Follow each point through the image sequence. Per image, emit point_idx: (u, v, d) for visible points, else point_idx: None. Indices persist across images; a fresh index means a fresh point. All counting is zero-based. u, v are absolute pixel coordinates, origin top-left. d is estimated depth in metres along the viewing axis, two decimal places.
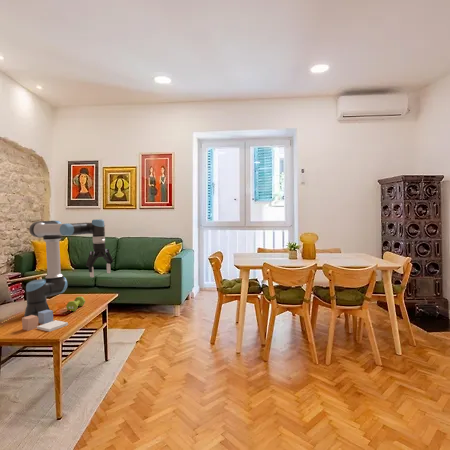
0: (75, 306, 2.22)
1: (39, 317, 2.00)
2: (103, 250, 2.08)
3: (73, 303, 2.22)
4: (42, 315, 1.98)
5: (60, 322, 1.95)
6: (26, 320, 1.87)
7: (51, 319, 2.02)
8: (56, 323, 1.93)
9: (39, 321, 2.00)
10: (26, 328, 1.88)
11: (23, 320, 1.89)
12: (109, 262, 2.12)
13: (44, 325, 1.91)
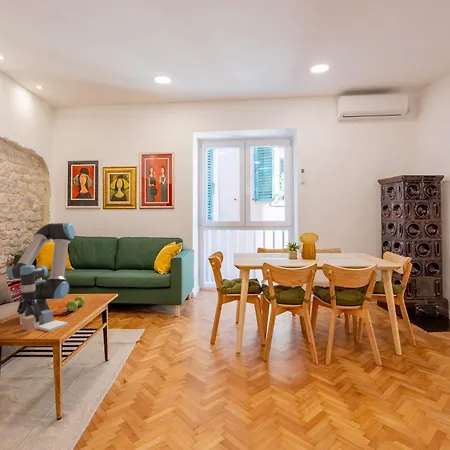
0: (75, 306, 2.22)
1: (39, 317, 2.00)
2: (29, 300, 1.88)
3: (73, 303, 2.22)
4: (42, 315, 1.98)
5: (60, 322, 1.95)
6: (26, 320, 1.87)
7: (51, 319, 2.02)
8: (56, 323, 1.93)
9: (39, 321, 2.00)
10: (26, 328, 1.88)
11: (23, 320, 1.89)
12: (34, 315, 1.86)
13: (44, 325, 1.91)
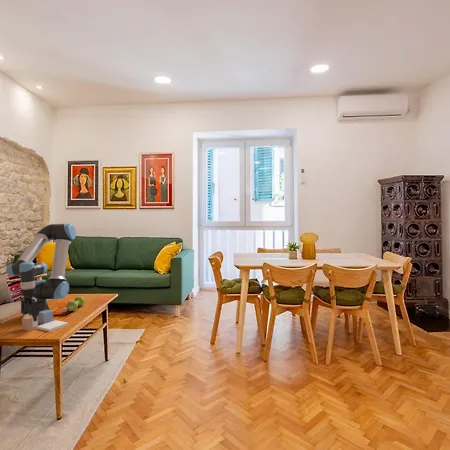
0: (75, 306, 2.22)
1: (39, 317, 2.00)
2: (29, 297, 1.88)
3: (73, 303, 2.22)
4: (42, 315, 1.98)
5: (60, 322, 1.95)
6: (26, 320, 1.87)
7: (51, 319, 2.02)
8: (56, 323, 1.93)
9: (39, 321, 2.00)
10: (26, 328, 1.88)
11: (23, 320, 1.89)
12: (32, 314, 1.88)
13: (44, 325, 1.91)
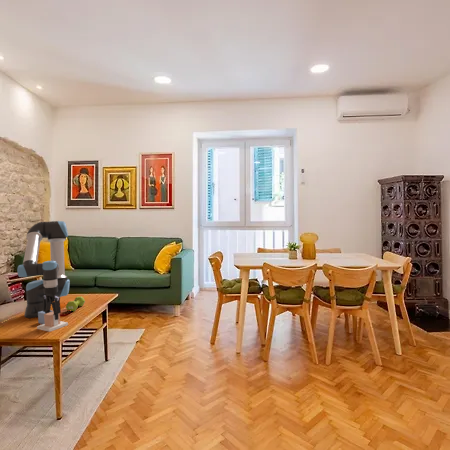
0: (75, 306, 2.22)
1: (39, 317, 2.00)
2: (51, 295, 1.89)
3: (73, 303, 2.22)
4: (42, 315, 1.98)
5: (60, 322, 1.95)
6: (48, 316, 1.88)
7: None
8: None
9: (39, 321, 2.00)
10: (48, 324, 1.88)
11: (45, 316, 1.90)
12: None
13: (44, 325, 1.91)
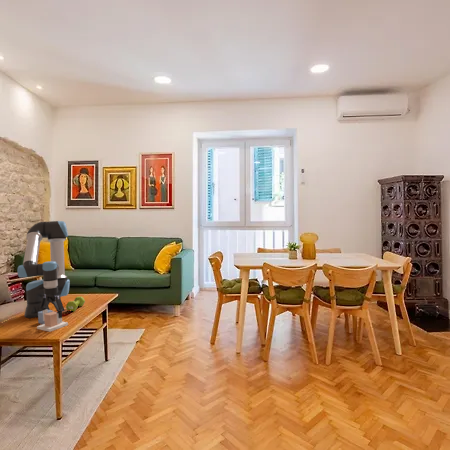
0: (75, 306, 2.22)
1: (39, 317, 2.00)
2: (51, 296, 1.89)
3: (73, 303, 2.22)
4: (42, 315, 1.98)
5: None
6: (48, 316, 1.88)
7: None
8: None
9: (39, 321, 2.00)
10: (48, 324, 1.88)
11: (45, 316, 1.89)
12: (57, 311, 1.88)
13: (44, 325, 1.91)
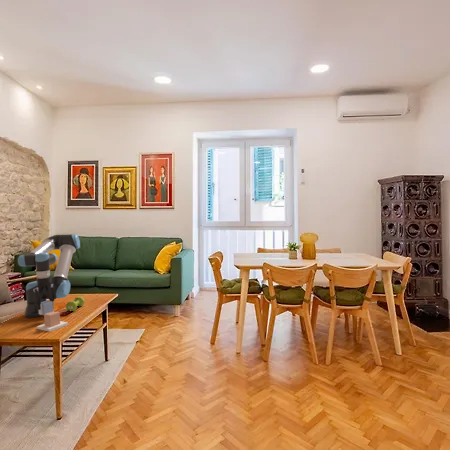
0: (74, 306, 2.22)
1: None
2: (49, 284, 2.03)
3: (72, 303, 2.22)
4: (42, 306, 1.98)
5: (60, 322, 1.95)
6: (48, 316, 1.88)
7: (51, 310, 2.02)
8: None
9: None
10: (48, 324, 1.88)
11: (45, 316, 1.89)
12: (51, 299, 2.04)
13: (44, 325, 1.91)
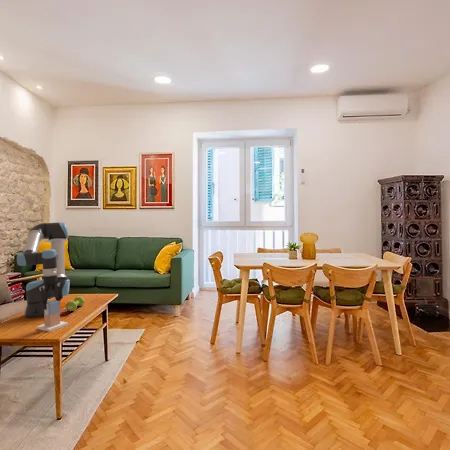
0: (74, 306, 2.22)
1: None
2: (55, 282, 1.93)
3: (72, 303, 2.22)
4: (48, 305, 1.88)
5: (60, 322, 1.95)
6: (48, 316, 1.88)
7: (57, 310, 1.92)
8: None
9: None
10: (48, 324, 1.88)
11: (45, 316, 1.89)
12: (57, 299, 1.94)
13: (44, 325, 1.91)
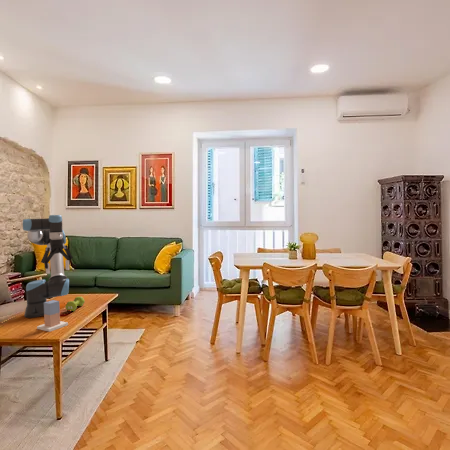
0: (74, 306, 2.22)
1: (45, 308, 1.90)
2: (61, 246, 2.04)
3: (72, 303, 2.22)
4: (48, 305, 1.88)
5: (60, 322, 1.95)
6: (48, 316, 1.88)
7: (57, 310, 1.92)
8: None
9: (45, 312, 1.90)
10: (48, 324, 1.88)
11: (45, 316, 1.89)
12: (68, 259, 2.08)
13: (44, 325, 1.91)
